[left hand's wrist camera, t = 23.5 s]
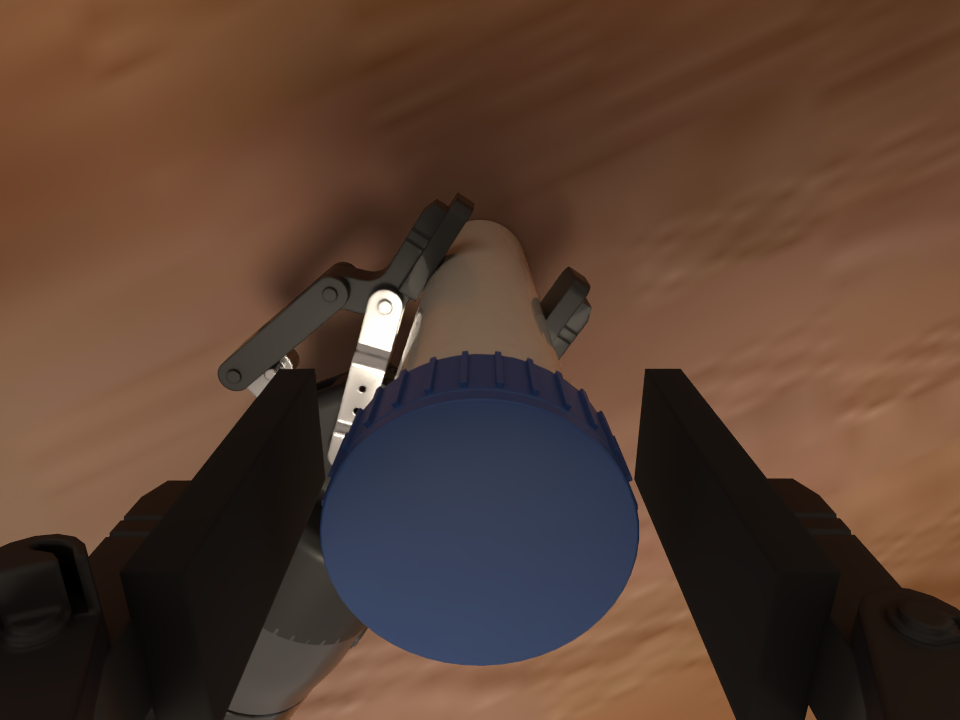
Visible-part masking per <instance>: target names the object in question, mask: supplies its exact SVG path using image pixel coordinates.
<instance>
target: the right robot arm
mask: <svg viewBox="0 0 960 720" xmlns="http://www.w3.org/2000/svg"><path fill="white" fill-rule="evenodd" d="M473 210H474V203H473V202H471V201H470V200H468V199H467V198H465V197H464V196H462V195H461V194H459V193H457V195H456V196H455V198H454V199H453V201H452V202H451V204H450V205H449V207H448V206H447V205H445V204H444V203H442V202H441V201H439V200H438V199H436V200H435V201H434V202H432V203H431V204H429V205H428V206H427V207H425V208H424V210H423V212H422V213H421V215H420V217H419V218H418V220H417V221H416V223H415V225H414V226H413V228H412V230H411V231H410V233H409V234H408V236H407V238H406V239H405V241H404V243H403V244H402V246H401V247H400V249H399V251H398V252H397V254H396V256H395V257H394V259H393V260H392V262H391V263H390V265H389V266H388V267H386V268H385V269H383V270H381V271H376V272H372V271H366V270H362V269H358V268H355V267H354V266H353V265H352V264H350V263H347V262H339V263H336V264H335V265H333V266H332V267H331V268H330V269H329V270H327V271H326V272H325V273H324V274H323V275H322V276H320V277H319V278H318V279H317V280H316V281H315V282H314V283H312V284H311V285H310V286H309V287H308V288H307V289H305V290H304V291H303V292H302V293H301V294H300V295H298V296H297V297H296V298H295V299H294V300H293V301H292V302H290V303H289V304H288V305H287V306H286V307H285V308H283V309H282V310H281V311H280V312H279V313H278V314H276V315H275V316H274V317H273V318H272V319H271V320H270V321H268V322H267V323H266V324H265V325H264V326H263V327H261V328H260V329H259V330H258V331H257V332H256V333H254V334H253V335H252V336H251V337H250V338H249V339H248V340H246V341H245V342H244V343H243V344H242V345H241V346H240V347H239V348H238V349H237V350H236V351H235V352H234V353H233V354H232V355H231V356H230V357H229V358H228V359H227V360H226V361H224V362H223V363H222V364H221V365H220V367H219V369H218V378H219V380H220V382H221V384H222V385H223V386H224V387H226V388H227V389H229V390H232V391H241V390H244V389H246V388H247V389H248V390H249V391H250V392H251V393H252V394H253V395H254V396H255V397H258V396H259V394H260V393H261V392H262V390H263V389H264V388H265V387H266V385H267V384H268V383H269V382H270V380H271V379H272V378H273V377H274V375H275V374H276V373H277V371H278V370H279V369H297V367H298V365H299V356H298V354H297V352H296V351H295V350H294V348H295V347H296V346H297V345H298V344H300V343H301V342H302V341H303V340H304V339H305V338H307V337H308V336H309V335H310V334H311V333H313V332H314V331H315V330H316V329H317V328H319V327H320V326H321V325H322V324H323V323H325V322H326V321H327V320H328V319H329V318H331V317H332V316H333V315H334V314H335V313H336V312H338V311H339V310H340V309H343V310H347V311H352V312H356V313H361V314H365V316H364V320H363V324H362V328H361V332H360V336H359V340H358V344H357V347H356V350H355V353H354V356H353V359H352V363H351V366H350V370H349V371H348V372H345V373H342V374H340V375H337V376H334V377H331V378H329V379H326V380H323V381H320V382H317V383H316V386H317V397H318V407H319V417H320V427H321V437H322V447H323V457H324V467H325V478H326V479H325V482H324V484H323V487H322V489H321V491H320V494H319V496H318V498H317V501H316V503H315V505H314V508H313V510H312V513H311V515H310V517H309V520H308V522H307V524H306V527H305V529H304V531H303V534H302V536H301V538H300V541H299V543H298V546H297V548H296V550H295V553H294V555H293V557H292V560H291V562H290V564H289V567H288V569H287V572H286V574H285V576H284V579H283V581H282V583H281V586H280V588H279V590H278V593H277V595H276V598H275V600H274V602H273V605H272V607H271V609H270V612H269V614H268V616H267V619H266V621H265V623H264V626H263V628H262V631H261V633H260V635H259V638H258V640H257V642H256V645H255V647H254V649H253V652H252V654H251V657H250V659H249V661H248V664H247V666H246V668H245V671H244V673H243V675H242V678H241V680H240V682H239V685H238V687H237V690H236V692H235V694H234V697H233V699H232V701H231V704H230V706H229V708H228V711H227V713H226V716H225V718H224V720H289V719H290V718H291V717H292V715H293V714H294V713H295V711H296V710H297V709H298V707H299V706H300V705H301V703H302V702H303V701H304V699H305V698H306V697H307V695H308V694H309V693H310V691H311V690H312V689H313V688H314V687H315V686H316V685H317V684H318V683H319V682H320V681H322V680H323V679H324V678H325V677H326V676H327V675H328V674H329V673H330V672H331V671H332V670H333V669H334V668H335V667H336V666H337V664H338V663H339V662H340V661H341V659H342V658H343V657H344V656H345V654H346V653H347V652H348V651H349V649H351V648H352V647H353V646H355V645H356V644H357V643H358V642H359V640H360V639H361V638H362V636H363V635H364V633H365V632H366V630H367V628H368V627H367V626H366V625H364V624H363V623H362V622H361V621H360V620H359V619H358V618H357V617H356V616H355V615H354V614H353V613H352V612H351V611H350V610H349V608H348V607H347V606H346V604H345V603H344V602H343V600H342V599H341V598H340V596H339V595H338V593H337V591H336V589H335V587H334V586H333V584H332V582H331V580H330V577H329V575H328V572H327V570H326V567H325V564H324V560H323V555H322V551H321V545H320V519H321V511H322V507H323V506H321V503H322V499H323V496H324V494H325V491H326V489H327V487H328V484H329V482H330V479H331V478H330V477H328V474H329V471H330V469H331V467H332V464H333V462H334V459H335V457H336V455H337V452H338V450H339V448H340V445H341V443H342V440H343V438H344V436H345V433H346V432H347V433H348V432H349V430H350V427H351V425H352V422H353V420H354V418H355V415H356V413H357V411H358V409H359V408H362V409H363V410H364V408H365V407H366V406H367V405H368V404H369V402H370V401H371V400H372V399H373V396H374V394H375V391H376V389H377V388H378V387H379V386H381V387H382V388H384V387H386V386H387V385H388V384H389V383H391V382H392V381H394V379H395V376H396V373H397V370H398V368H396V367H394V366H393V365H391V364H390V363H391V359H392V356H393V352H394V349H395V345H396V341H397V337H398V333H399V329H400V325H401V321H402V318H403V314H404V310H405V307H406V304H407V303H408V301H409V300H410V299H412V300H414V301H416V300H417V298H418V297H419V295H420V293H421V292H422V290H423V289H424V287H425V285H426V284H427V282H428V280H429V279H430V277H431V276H432V275H433V273H434V272H435V270H436V268H437V267H438V265H439V264H440V262H441V261H442V259H443V258H444V256H445V254H446V253H447V251H448V250H449V248H450V247H451V245H452V244H453V242H454V240H455V239H456V237H457V236H458V234H459V233H460V231H461V230H462V228H463V226H464V225H465V223H466V222H467V220H468V219H469V217H470V215H471V213H472V212H473ZM589 290H590V284H589V283H588V281H587V280H586V278H585V277H584V276H582V275H581V274H579V273H578V272H576V271H575V270H573V269H572V268H570V267H567V268H566V269H565V270H564V271H563V272H562V273H561V275H560V276H559V278H558V279H557V280H556V282H555V283H554V285H553V286H552V287H551V289H550V290H549V291H548V293H547V294H546V296H545V297H544V298H543V300H542V301H541V303H540V304H541V307H542V310H543V313H544V316H545V319H546V322H547V325H548V329H549V332H550V335H551V338H552V341H553V344H554V347H555V350H556V354H557V357H558V360H559V359H560V358H561V356H562V355H563V354H564V353H565V351H566V350H567V349H568V347H569V346H570V344H571V343H572V342H573V341H574V339H575V338H576V337H577V335H578V334H579V333H580V331H581V330H582V329H583V327H584V326H585V325H586V323H587V322H588V319H589V315H590V311H591V308H592V307H591V306H590V304H589V302H588V300H587V299H586V296H587V295H588V293H589ZM145 720H155V717H154V713H153V708H151V710H150V711H149V713H148V715H147V717H146V719H145Z"/></svg>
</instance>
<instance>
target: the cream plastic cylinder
mask: <svg viewBox="0 0 960 720" xmlns="http://www.w3.org/2000/svg"><path fill="white" fill-rule="evenodd" d="M462 351H468V353H469V354H494V355H495V351H499V352H501V355H502V356H507V357H513V358H517V359H520V360H524V361H526V360H527V358H530V359H533V362H534V364H536V365H538V366H540V367H543V368H545V369H547V370H549V371H551V372H553V373H555V372H556V371H559V372H561V373H562V376H563V379H564V380H565V378H564V375H563V372H562V369H561V366H560V363H559V360H558V357H557V354H556V350H555V347H554V344H553V341H552V338H551V335H550V332H549V329H548V325H547V322H546V319H545V316H544V313H543V310H542V307H541V304H540V301H539V297H538V294H537V291H536V288H535V285H534V282H533V279H532V276H531V272H530V269H529V266H528V263H527V260H526V257H525V254H524V251H523V248H522V246H521V244H520V242H519V241H518V239H517V238H516V236H515V235H514V234H513V233H512V232H511V231H509V230H508V229H507V228H505V227H504V226H502V225H500V224H498V223H496V222H492V221H487V220H472V221H468V222H466V223H465V225H464V226H463V228H462V230H461V231H460V233H459V234H458V236H457V237H456V239H455V240H454V242H453V244H452V245H451V247H450V248H449V250H448V251H447V253H446V254H445V256H444V258H443V259H442V261H441V262H440V264H439V265H438V267H437V268H436V270H435V272H434V273H433V275H432V276H431V277H430V279H429V280H428V282H427V284H426V285H425V287H424V289H423V293H422V296H421V299H420V302H419V305H418V308H417V311H416V314H415V317H414V320H413V323H412V327H411V330H410V333H409V336H408V339H407V342H406V345H405V348H404V351H403V354H402V357H401V361H400V364H399V367H398V370H397V373H396V376H395V379H397V378H398V377H399V376H400V372H401V371H402V370H404V369H407V371H410V370H412V369H414V368H416V367H418V366H420V365H423V364H426V363H429V361H430V358H432V357H436V358H437V360H438V359H442V358H447V357H452V356H456V355H462ZM395 379H394V380H395Z"/></svg>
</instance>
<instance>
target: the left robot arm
mask: <svg viewBox="0 0 960 720" xmlns="http://www.w3.org/2000/svg"><path fill="white" fill-rule="evenodd" d="M325 479H326V478H325V467H324V457H323V447H322V437H321V427H320V417H319V407H318V397H317V386H316V376H315V369H279V370H278V371H277V373H276V374H275V375H274V377H273V378H272V379H271V380H270V382H269V383H268V384H267V385H266V387H265V388H264V389H263V390H262V392H261V393H260V394H259V396H258V397H257V398H256V399H255V401H254V402H253V403H252V404H251V406H250V407H249V408H248V409H247V411H246V412H245V413H244V415H243V416H242V417H241V418H240V420H239V421H238V422H237V423H236V425H235V426H234V427H233V428H232V430H231V431H230V432H229V434H228V435H227V436H226V437H225V439H224V440H223V441H222V442H221V444H220V445H219V446H218V448H217V449H216V450H215V451H214V453H213V454H212V455H211V456H210V458H209V459H208V460H207V461H206V463H205V464H204V465H203V467H202V468H201V469H200V470H199V472H198V473H197V474H196V475H195V477H194V478H193V479H192V480H191V481H167V482H165V483H163V484H162V485H160V486H159V487H157V488H155V489H154V490H152V491H151V492H149V493H147V494H146V495H144V496H143V497H141V498H140V499H139V500H138V502H137V503H136V504H135V505H134V506H133V507H132V508H131V509H130V511H129V512H128V513H127V514H126V515H125V516H124V521H120V522H119V523H118V524H117V525H116V526H115V528H114V529H113V530H112V531H111V532H110V536H109V537H106V538H105V539H104V540H103V541H102V542H101V543H100V544H99V546H98V547H97V548H96V549H95V550H94V551H93V552H92V554H91V555H90V556H89V557H88V553H87V550H86V546H85V544H84V543H83V542H81V541H80V540H79V539H77V538H76V537H73V536H67V535H61V534H52V535H41V536H34V537H30V538H26V539H23V540H19V541H15V542H12V543H9V544H7V545H4V546H2V547H0V720H145V719H146V717H147V715H148V713H149V711H150V710H151V708H153V713H154V717H155V720H224V718H225V716H226V713H227V711H228V708H229V706H230V704H231V701H232V699H233V697H234V694H235V692H236V690H237V687H238V685H239V682H240V680H241V678H242V675H243V673H244V671H245V668H246V666H247V664H248V661H249V659H250V657H251V654H252V652H253V649H254V647H255V645H256V642H257V640H258V638H259V635H260V633H261V631H262V628H263V626H264V623H265V621H266V619H267V616H268V614H269V612H270V609H271V607H272V605H273V602H274V600H275V598H276V595H277V593H278V590H279V588H280V586H281V583H282V581H283V579H284V576H285V574H286V572H287V569H288V567H289V564H290V562H291V560H292V557H293V555H294V553H295V550H296V548H297V546H298V543H299V541H300V538H301V536H302V534H303V531H304V529H305V527H306V524H307V522H308V520H309V517H310V515H311V513H312V510H313V508H314V505H315V503H316V501H317V498H318V496H319V494H320V491H321V489H322V487H323V484H324V482H325ZM634 479H635V482H636V484H637V487H638V489H639V491H640V494H641V496H642V498H643V501H644V503H645V505H646V508H647V510H648V513H649V515H650V517H651V520H652V522H653V524H654V527H655V529H656V531H657V534H658V536H659V538H660V541H661V543H662V546H663V548H664V550H665V553H666V555H667V557H668V560H669V562H670V564H671V567H672V569H673V572H674V574H675V576H676V579H677V581H678V583H679V586H680V588H681V590H682V593H683V595H684V598H685V600H686V602H687V605H688V607H689V609H690V612H691V614H692V616H693V619H694V621H695V623H696V626H697V628H698V631H699V633H700V635H701V638H702V640H703V642H704V645H705V647H706V649H707V652H708V654H709V657H710V659H711V661H712V664H713V666H714V668H715V671H716V673H717V675H718V678H719V680H720V683H721V685H722V687H723V690H724V692H725V694H726V697H727V699H728V701H729V704H730V706H731V708H732V711H733V713H734V716H735V718H736V720H805V717H806V712H807V708H808V705H809V706H810V708H811V710H812V712H813V714H814V715H815V717H816V719H817V720H960V611H959V610H958V609H957V608H955V607H953V606H951V605H949V604H947V603H945V602H943V601H941V600H939V599H938V598H936V597H934V596H931V595H928V594H924V593H921V592H918V591H915V590H911V589H906V588H902V587H901V586H900V585H899V584H898V583H897V582H896V581H895V580H894V579H893V577H892V576H891V575H890V574H889V573H888V572H887V571H886V570H885V568H884V567H883V566H882V565H881V564H880V563H879V562H878V561H877V559H876V558H875V557H874V556H873V555H872V554H871V553H870V552H869V550H868V549H867V548H866V547H865V546H864V545H863V544H862V543H861V541H860V540H859V539H858V538H857V537H856V536H855V535H851V530H850V529H849V528H848V527H847V526H846V525H845V524H844V522H843V521H842V520H841V519H840V518H837V517H836V513H835V512H834V511H833V510H832V509H831V508H830V507H829V506H828V504H827V503H826V502H825V501H824V500H823V499H822V498H821V497H820V496H819V495H818V494H817V493H815V492H813V491H812V490H810V489H808V488H807V487H805V486H804V485H802V484H800V483H799V482H797V481H796V480H794V479H767V478H766V477H765V475H764V474H763V473H762V472H761V470H760V469H759V468H758V467H757V465H756V464H755V463H754V461H753V460H752V459H751V458H750V456H749V455H748V454H747V453H746V451H745V450H744V449H743V448H742V446H741V445H740V444H739V442H738V441H737V440H736V439H735V437H734V436H733V435H732V434H731V432H730V431H729V430H728V428H727V427H726V426H725V425H724V423H723V422H722V421H721V420H720V418H719V417H718V416H717V415H716V413H715V412H714V411H713V409H712V408H711V407H710V406H709V404H708V403H707V402H706V401H705V399H704V398H703V397H702V396H701V394H700V393H699V392H698V390H697V389H696V388H695V387H694V385H693V384H692V383H691V382H690V380H689V379H688V378H687V377H686V375H685V374H684V373H683V371H682V370H681V369H645V376H644V386H643V396H642V407H641V417H640V427H639V437H638V447H637V457H636V467H635V478H634Z"/></svg>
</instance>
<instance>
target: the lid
mask: <svg viewBox="0 0 960 720" xmlns="http://www.w3.org/2000/svg"><path fill="white" fill-rule="evenodd" d="M328 477H330V478H331V479H330V482H329V484H328V487H327V489H326V491H325V494H324V496H323V499H322V503H321V506H323V507H322V511H321V519H320V545H321V551H322V555H323V560H324V564H325V567H326V570H327V572H328V575H329V577H330V580H331V582H332V584H333V586H334V587H335V589H336V591H337V593H338V595H339V596H340V598H341V599H342V600H343V602H344V603H345V604H346V606H347V607H348V608H349V610H350V611H351V612H352V613H353V614H354V615H355V616H356V617H357V618H358V619H359V620H360V621H361V622H362V623H363V624H364V625H366V626H367V627H368V628H369V629H371V630H372V631H373V632H374V633H376V634H377V635H379V636H380V637H382V638H383V639H385V640H387V641H388V642H390V643H391V644H393V645H395V646H397V647H400V648H402V649H404V650H406V651H408V652H410V653H413V654H416V655H419V656H422V657H425V658H428V659H432V660H436V661H441V662H445V663H452V664H460V665H478V666H486V665H500V664H507V663H513V662H519V661H523V660H527V659H530V658H534V657H537V656H540V655H543V654H546V653H548V652H551V651H553V650H556V649H558V648H560V647H562V646H563V645H565V644H567V643H569V642H571V641H573V640H574V639H576V638H577V637H579V636H580V635H582V634H583V633H585V632H586V631H587V630H589V629H590V628H591V627H592V626H593V625H594V624H596V623H597V622H598V621H599V620H600V619H601V618H602V617H603V616H604V615H605V614H606V613H607V612H608V610H609V609H610V608H611V607H612V606H613V605H614V603H615V602H616V600H617V599H618V597H619V596H620V594H621V593H622V591H623V590H624V588H625V586H626V584H627V581H628V579H629V577H630V575H631V572H632V569H633V566H634V563H635V560H636V556H637V550H638V543H639V519H638V513H637V510H638V504H637V502H636V499H635V497H634V494H633V492H632V489H631V487H630V484H629V481H632V477H631V474H630V472H629V469H628V467H627V465H626V462H625V460H624V457H623V455H622V453H621V450H620V448H619V445H618V443H617V441H616V438H615V436H613V435H612V433H611V430H610V428H609V425H608V423H607V420H606V418H605V416H604V414H603V412H602V411H600V412H598V413H597V411H596V410H595V409H594V407H593V406H592V404H591V403H590V402H589V399H588V397H587V394H586V392H585V391H584V390H583V389H581V390H579V391H578V390H577V389H576V388H575V387H573V386H572V385H571V384H570V383H568V382H567V381H566V380H564V379H563V376H562V373H561V372H559V371H556V372H555V373H553V372H551V371H549V370H547V369H545V368H543V367H540V366H538V365H536V364H534V362H533V359H530V358H527V360H526V361H524V360H520V359H517V358H513V357H507V356H502V355H501V352H499V351H495V355H494V354H469V353H468V351H462V355H456V356H452V357H447V358H442V359H438V360H437V358H436V357H432V358H430V361H429V363H426V364H423V365H420V366H418V367H416V368H414V369H412V370H410V371H407V369H404V370H402V371H401V372H400V376H399V377H398V378H397V379H395V380H394V381H392V382H391V383H389V384H388V385H387V386H386V387H384V388H382V387H381V386H379V387H378V388H377V389H376V391H375V394H374V396H373V399H372V400H371V401H370V402H369V404H368V405H367V406H366V407H365V408H364V410H363V409H362V408H359V409H358V411H357V413H356V415H355V418H354V420H353V422H352V425H351V427H350V430H349V432H348V433H347V432H346V433H345V436H344V438H343V440H342V443H341V445H340V448H339V450H338V452H337V455H336V457H335V459H334V462H333V464H332V467H331V469H330V471H329V474H328Z"/></svg>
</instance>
